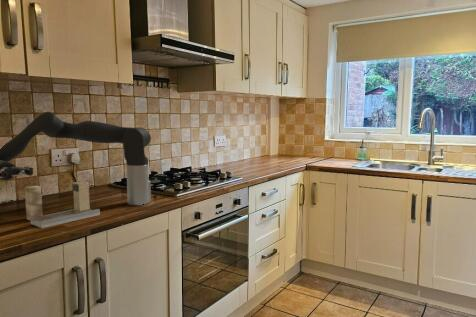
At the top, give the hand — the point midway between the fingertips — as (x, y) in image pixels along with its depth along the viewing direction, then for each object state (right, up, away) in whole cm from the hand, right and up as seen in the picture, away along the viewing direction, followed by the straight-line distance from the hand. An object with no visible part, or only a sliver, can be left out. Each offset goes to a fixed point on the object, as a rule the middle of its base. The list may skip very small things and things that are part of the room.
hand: (19, 174), depth 142 cm
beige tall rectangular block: (+8, -16, -4) cm, 19 cm away
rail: (+20, -16, -5) cm, 27 cm away
